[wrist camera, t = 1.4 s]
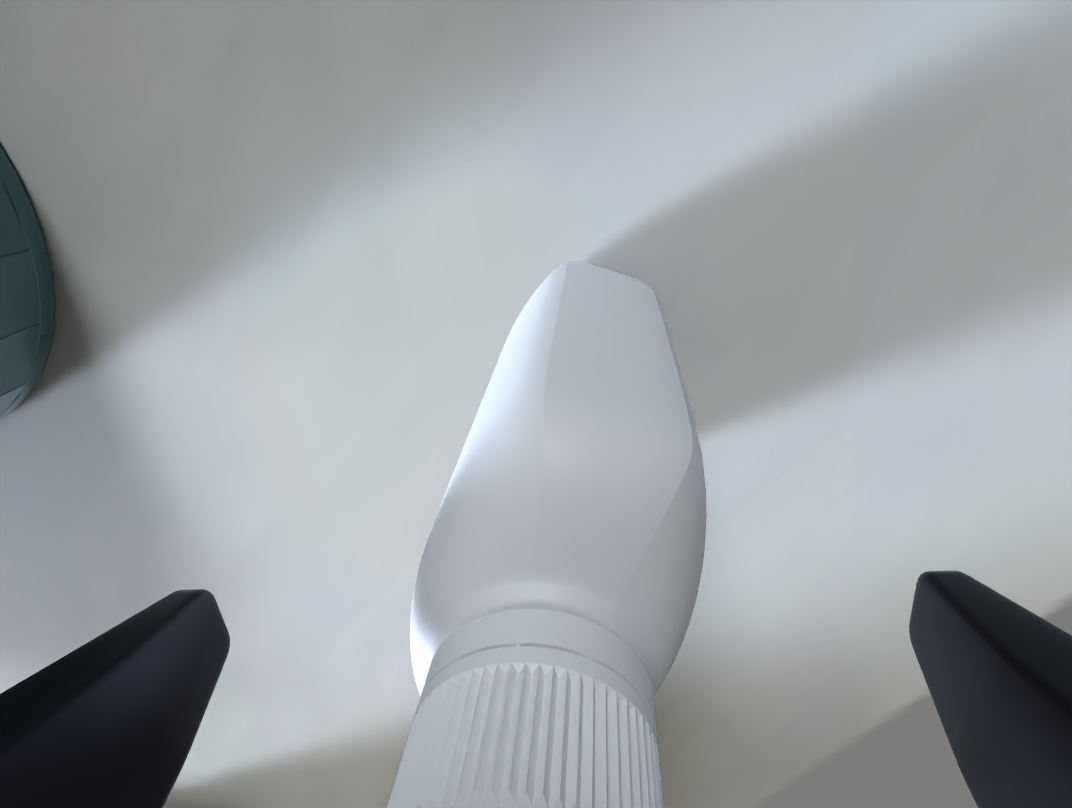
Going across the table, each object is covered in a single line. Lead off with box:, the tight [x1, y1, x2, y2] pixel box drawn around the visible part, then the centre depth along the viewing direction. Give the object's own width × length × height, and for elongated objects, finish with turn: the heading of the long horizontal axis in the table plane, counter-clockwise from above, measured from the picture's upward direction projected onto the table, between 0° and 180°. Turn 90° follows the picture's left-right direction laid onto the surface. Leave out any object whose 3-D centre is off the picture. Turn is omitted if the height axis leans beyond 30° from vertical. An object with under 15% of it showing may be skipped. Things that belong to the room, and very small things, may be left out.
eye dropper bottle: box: [387, 262, 706, 808], centre depth 9 cm, size 4×6×12 cm
